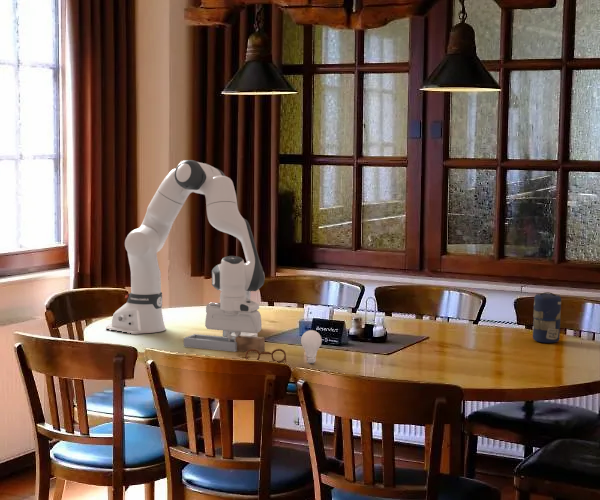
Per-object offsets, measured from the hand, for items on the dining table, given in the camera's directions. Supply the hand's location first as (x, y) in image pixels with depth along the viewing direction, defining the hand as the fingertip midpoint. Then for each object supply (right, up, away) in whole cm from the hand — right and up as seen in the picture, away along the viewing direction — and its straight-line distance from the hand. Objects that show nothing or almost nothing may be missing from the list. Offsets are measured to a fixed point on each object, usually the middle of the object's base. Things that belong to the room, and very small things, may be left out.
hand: (233, 343), depth 354 cm
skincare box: (0, +1, +31) cm, 31 cm away
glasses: (+12, -6, -26) cm, 30 cm away
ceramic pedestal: (+3, -1, +8) cm, 9 cm away
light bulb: (+27, -5, -22) cm, 35 cm away
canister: (+112, -1, +16) cm, 113 cm away
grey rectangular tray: (-6, -1, +3) cm, 7 cm away
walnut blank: (+6, -2, -2) cm, 7 cm away
